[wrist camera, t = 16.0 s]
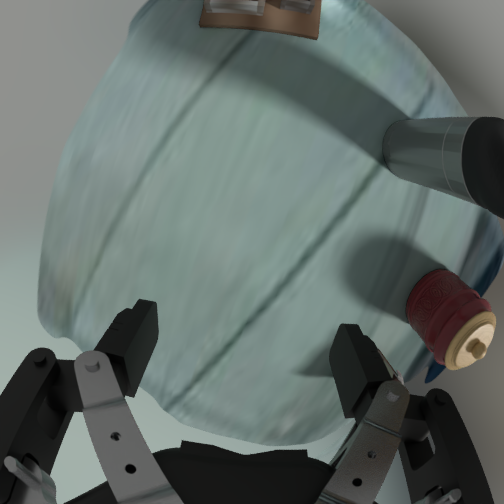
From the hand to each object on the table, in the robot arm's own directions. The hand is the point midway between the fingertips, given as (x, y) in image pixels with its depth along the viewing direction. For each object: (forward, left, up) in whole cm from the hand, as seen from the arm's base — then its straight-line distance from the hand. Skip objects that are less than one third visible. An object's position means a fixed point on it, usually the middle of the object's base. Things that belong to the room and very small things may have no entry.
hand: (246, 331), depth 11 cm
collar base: (+2, -31, -28) cm, 41 cm away
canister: (-36, +12, -28) cm, 47 cm away
